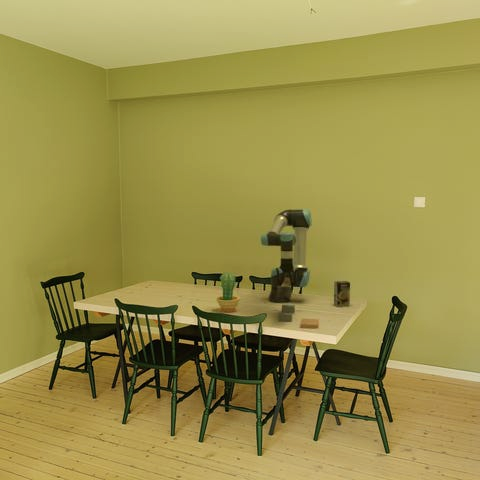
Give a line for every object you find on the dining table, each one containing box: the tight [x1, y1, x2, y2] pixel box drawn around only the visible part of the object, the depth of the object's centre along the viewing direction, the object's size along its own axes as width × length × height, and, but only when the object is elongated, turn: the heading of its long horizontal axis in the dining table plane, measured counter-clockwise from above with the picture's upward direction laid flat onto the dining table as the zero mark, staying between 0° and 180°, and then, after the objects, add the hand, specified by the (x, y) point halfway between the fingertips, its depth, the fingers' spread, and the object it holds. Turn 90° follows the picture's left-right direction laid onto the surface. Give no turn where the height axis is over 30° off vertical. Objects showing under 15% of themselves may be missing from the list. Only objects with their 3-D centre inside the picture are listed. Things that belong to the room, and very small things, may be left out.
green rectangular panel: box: [299, 318, 320, 329], centre depth 271 cm, size 10×2×12 cm
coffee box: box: [333, 280, 351, 308], centre depth 314 cm, size 9×6×16 cm
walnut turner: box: [277, 278, 292, 298], centre depth 287 cm, size 8×30×6 cm, turn 169°
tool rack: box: [277, 304, 296, 322], centre depth 290 cm, size 8×24×4 cm, turn 169°
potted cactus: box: [216, 271, 241, 313], centre depth 305 cm, size 15×15×25 cm
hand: (286, 295), depth 289 cm, fingers closed on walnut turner, 4 cm apart
